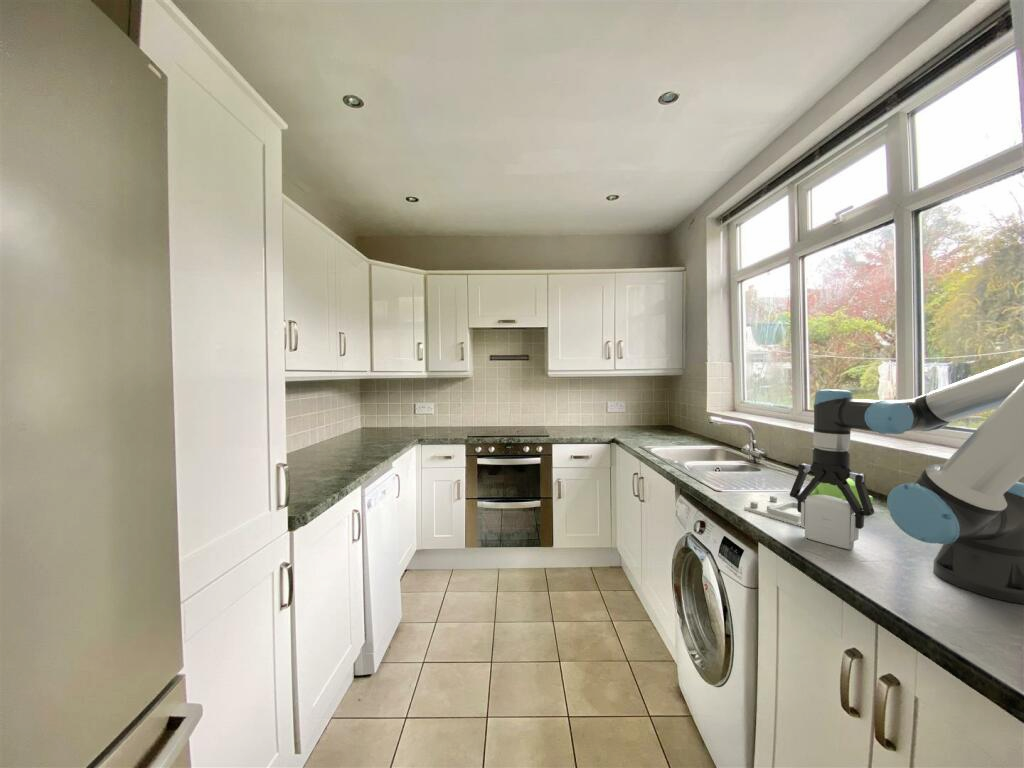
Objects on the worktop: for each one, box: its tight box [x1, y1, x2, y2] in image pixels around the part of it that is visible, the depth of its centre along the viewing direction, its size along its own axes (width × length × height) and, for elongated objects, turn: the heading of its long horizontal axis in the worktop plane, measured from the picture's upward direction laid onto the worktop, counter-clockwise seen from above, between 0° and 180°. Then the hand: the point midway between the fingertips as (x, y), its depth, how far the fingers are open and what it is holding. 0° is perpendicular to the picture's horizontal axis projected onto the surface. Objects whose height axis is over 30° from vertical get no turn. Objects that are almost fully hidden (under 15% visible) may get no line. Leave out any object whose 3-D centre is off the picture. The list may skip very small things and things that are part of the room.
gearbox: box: [810, 475, 874, 506], centre depth 130 cm, size 18×10×10 cm, turn 73°
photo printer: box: [804, 495, 855, 550], centre depth 103 cm, size 10×4×12 cm, turn 39°
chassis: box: [743, 496, 805, 529], centre depth 122 cm, size 22×16×2 cm
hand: (828, 532), depth 103 cm, fingers closed on photo printer, 10 cm apart
